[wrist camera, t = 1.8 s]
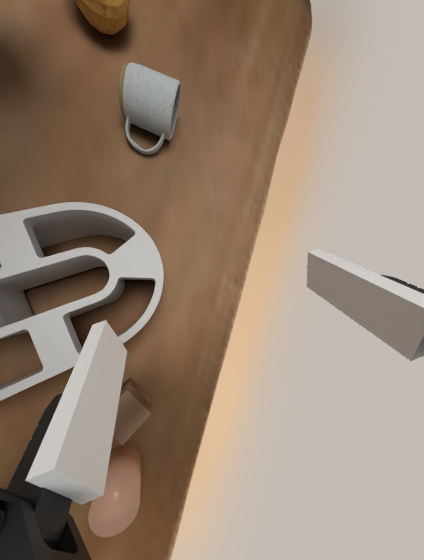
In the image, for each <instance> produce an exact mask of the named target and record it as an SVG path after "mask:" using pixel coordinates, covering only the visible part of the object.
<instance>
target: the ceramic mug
mask: <svg viewBox="0 0 424 560" xmlns="http://www.w3.org/2000/svg"><path fill="white" fill-rule="evenodd" d="M180 88H181V86H180V82H179V81H178V80H176V79H173V78H171V77H168V76H166V75H164V74H161V73H159V72H156V71H154V70H151V69H149V68H147V67H145V66H142V65H139V64H136V63H131V62H128V63H126V64H125V65H124V66H123V68H122V71H121V75H120V81H119V103H120V109H121V112H122V114H123V116H124V118H125V119H126V124H125V126H126V128H125V129H126V135H127V138H128V140H129V142H130V144H131V145H132V146H133V147H134V149H135V150H137V151H138V152H140V153H142V154H146V155H151V154H154V153H156V152H157V151H158V150H159V149H160V147H161V146H162V144H163V142H164V139H166V140H171V138H172V135H173V132H174V129H175V124H176V119H177V114H178V107H179V99H180ZM131 123H132V124H134V125H136V126H138V127H140V128H143V129H145V130H147V131H149V132H151V133H153V134H155V135H157V136H160V137H161V139H160V140H159V142H158V143H157V145H155V146H154V147H152V148H150V149H147V150H145V149H143V148H141V147H140V146H138V144H137V143H135V142H134V141H133V140H132V139H131V137H130V125H131Z"/></svg>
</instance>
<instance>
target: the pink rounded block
mask: <svg viewBox="0 0 424 560" xmlns="http://www.w3.org/2000/svg"><path fill="white" fill-rule="evenodd" d="M141 468H142V456H141V453H140V451H139V450H138V448H136V447H135V446H133V445H129V444H126V445H121V446H118V447H116V448H115V449H113V450H112V451H111V453H110V459H109V465H108V471H107V477H106V483H105V489H104V495H103V496H101V497H98V498H96V499H94V500H92V503H91V506H90V510H89V514H88V523H89V526H90V529H91V530H92V532H93V533H94V534H96V535H97V536H100V537H112V536H115V535H117V534H119V533H121V532H122V531H124V530H125V529H126V528H127V527H128V526H129V525H130V524H131V523H132V521H133V520H134V518H135V517H136V515H137V512H138V510H139V506H140V490H141Z"/></svg>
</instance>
